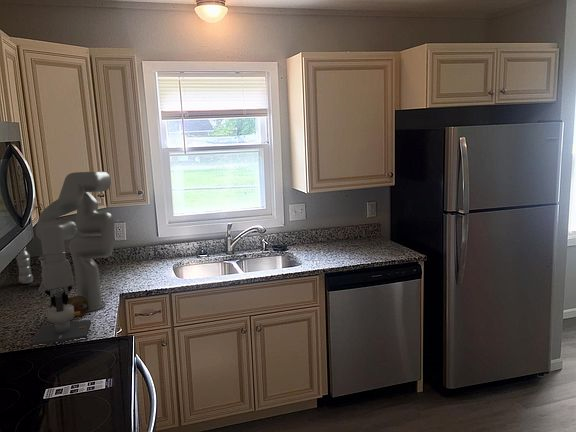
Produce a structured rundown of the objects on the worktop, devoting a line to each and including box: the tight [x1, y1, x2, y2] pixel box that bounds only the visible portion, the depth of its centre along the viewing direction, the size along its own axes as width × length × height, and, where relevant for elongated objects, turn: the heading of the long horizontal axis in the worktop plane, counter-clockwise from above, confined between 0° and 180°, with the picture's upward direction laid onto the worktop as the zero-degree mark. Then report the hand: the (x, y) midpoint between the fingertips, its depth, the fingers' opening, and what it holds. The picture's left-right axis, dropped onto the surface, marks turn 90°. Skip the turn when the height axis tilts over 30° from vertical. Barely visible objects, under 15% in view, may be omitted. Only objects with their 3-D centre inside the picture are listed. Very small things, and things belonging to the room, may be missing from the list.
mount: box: [32, 319, 92, 346], centre depth 186 cm, size 17×18×6 cm
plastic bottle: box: [15, 246, 34, 285], centre depth 255 cm, size 6×7×20 cm
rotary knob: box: [46, 290, 80, 324], centre depth 185 cm, size 11×9×10 cm
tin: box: [48, 295, 89, 318], centre depth 204 cm, size 15×3×8 cm, turn 106°
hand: (60, 304), depth 184 cm, fingers closed on rotary knob, 3 cm apart
